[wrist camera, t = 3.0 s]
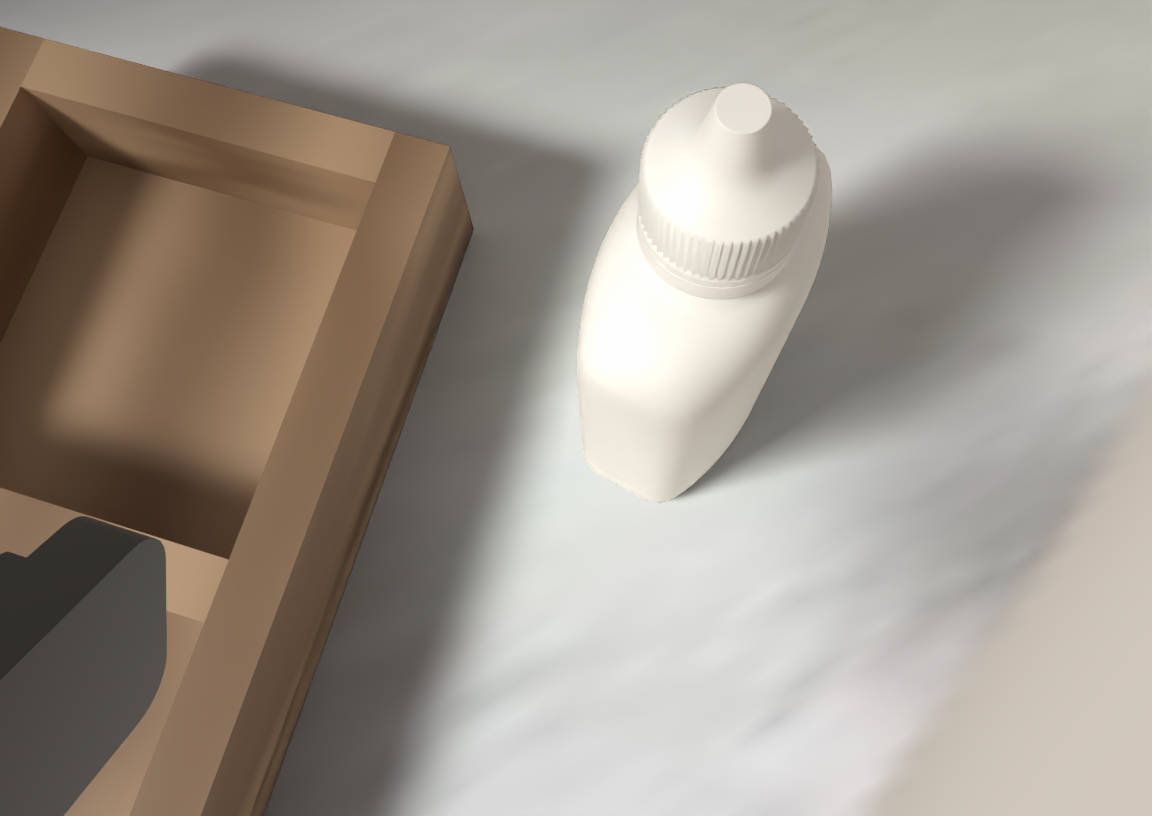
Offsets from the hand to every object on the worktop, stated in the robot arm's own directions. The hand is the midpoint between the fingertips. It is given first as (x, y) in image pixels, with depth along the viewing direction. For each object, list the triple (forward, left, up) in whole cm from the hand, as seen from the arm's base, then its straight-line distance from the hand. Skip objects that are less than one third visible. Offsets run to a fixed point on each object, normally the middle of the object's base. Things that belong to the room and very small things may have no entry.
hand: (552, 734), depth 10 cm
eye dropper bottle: (0, +8, -14) cm, 15 cm away
